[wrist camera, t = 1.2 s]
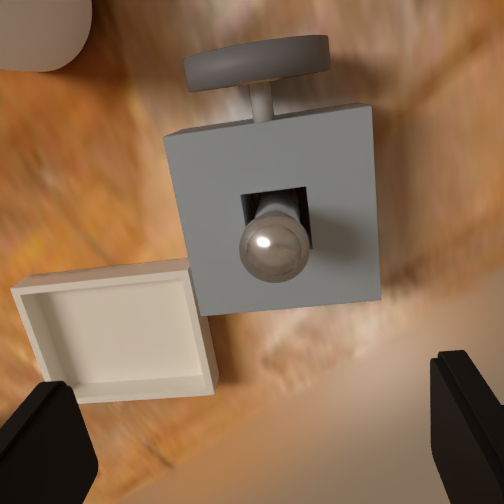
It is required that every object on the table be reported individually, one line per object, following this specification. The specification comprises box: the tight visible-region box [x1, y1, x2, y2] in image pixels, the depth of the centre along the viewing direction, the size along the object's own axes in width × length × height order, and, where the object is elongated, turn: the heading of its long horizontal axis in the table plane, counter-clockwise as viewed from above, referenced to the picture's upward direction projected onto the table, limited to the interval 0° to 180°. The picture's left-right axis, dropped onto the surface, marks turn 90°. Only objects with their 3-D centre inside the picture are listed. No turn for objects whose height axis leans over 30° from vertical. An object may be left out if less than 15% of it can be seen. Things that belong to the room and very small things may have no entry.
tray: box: [10, 258, 220, 404], centre depth 35 cm, size 14×11×2 cm
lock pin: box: [239, 188, 310, 283], centre depth 27 cm, size 4×4×10 cm
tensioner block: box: [163, 35, 381, 316], centre depth 27 cm, size 12×16×8 cm
